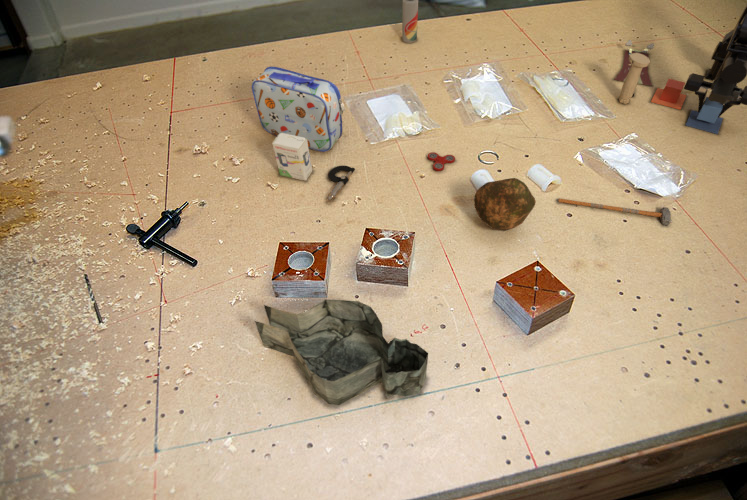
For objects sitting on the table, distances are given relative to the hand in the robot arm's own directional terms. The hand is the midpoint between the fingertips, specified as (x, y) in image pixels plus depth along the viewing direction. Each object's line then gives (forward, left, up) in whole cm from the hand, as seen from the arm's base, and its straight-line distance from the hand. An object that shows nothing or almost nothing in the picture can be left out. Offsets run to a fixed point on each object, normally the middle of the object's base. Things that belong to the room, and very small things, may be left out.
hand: (708, 114), depth 159 cm
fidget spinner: (+57, -60, -3) cm, 83 cm away
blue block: (0, 0, -1) cm, 1 cm away
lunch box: (+68, -102, -3) cm, 123 cm away
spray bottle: (-2, -105, -3) cm, 105 cm away
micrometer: (+81, -82, -3) cm, 116 cm away
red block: (-8, -12, -2) cm, 15 cm away
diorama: (-21, -26, -3) cm, 34 cm away
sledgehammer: (+53, -13, -3) cm, 55 cm away
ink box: (+83, -94, -3) cm, 126 cm away
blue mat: (0, 0, -3) cm, 3 cm away
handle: (+1, -24, -3) cm, 24 cm away
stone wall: (+127, -48, -3) cm, 136 cm away
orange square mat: (-8, -12, -3) cm, 15 cm away
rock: (+73, -36, -3) cm, 81 cm away
